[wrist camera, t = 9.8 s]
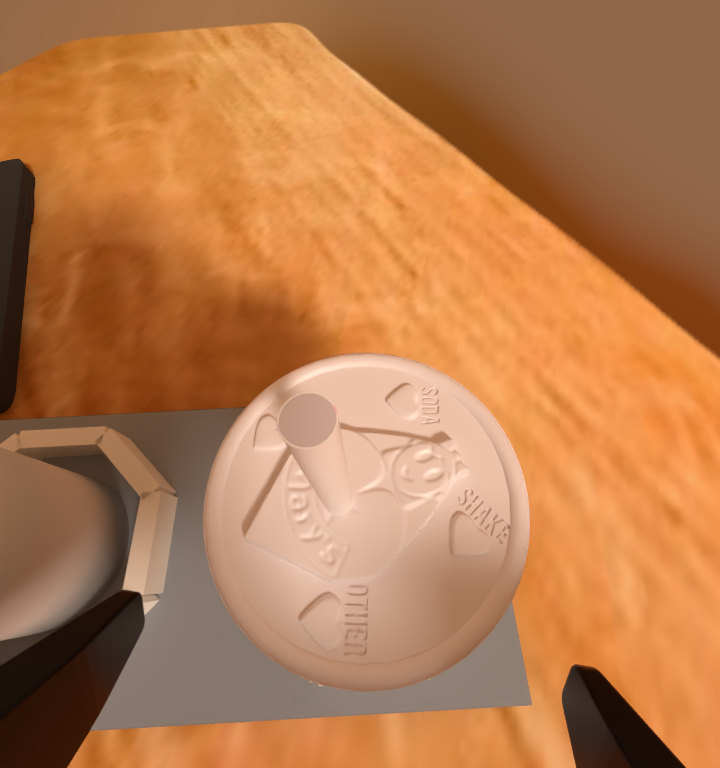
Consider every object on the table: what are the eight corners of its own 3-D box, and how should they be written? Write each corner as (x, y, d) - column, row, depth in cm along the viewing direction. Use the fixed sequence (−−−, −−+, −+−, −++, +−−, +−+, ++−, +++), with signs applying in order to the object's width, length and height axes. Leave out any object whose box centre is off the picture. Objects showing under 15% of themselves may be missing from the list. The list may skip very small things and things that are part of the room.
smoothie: (271, 489, 17) (6, 252, 4) (405, 439, 18) (499, 125, 5) (316, 654, 14) (-39, 1233, 2) (470, 585, 15) (964, 640, 3)
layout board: (466, 403, 20) (503, 339, 14) (521, 697, 14) (613, 771, 9) (-4, 428, 20) (-145, 373, 14) (-121, 733, 14) (-415, 831, 9)
